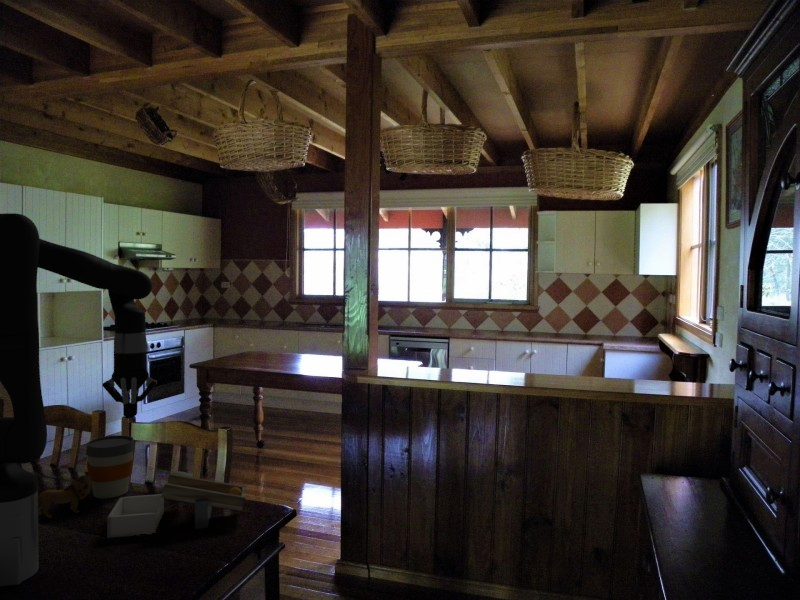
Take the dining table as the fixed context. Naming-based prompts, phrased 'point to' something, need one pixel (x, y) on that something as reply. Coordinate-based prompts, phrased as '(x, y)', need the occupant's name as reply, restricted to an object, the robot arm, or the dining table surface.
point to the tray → (135, 516)
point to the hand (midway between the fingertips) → (130, 417)
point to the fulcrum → (202, 513)
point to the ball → (235, 491)
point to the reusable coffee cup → (110, 465)
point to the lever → (202, 491)
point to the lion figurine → (66, 495)
